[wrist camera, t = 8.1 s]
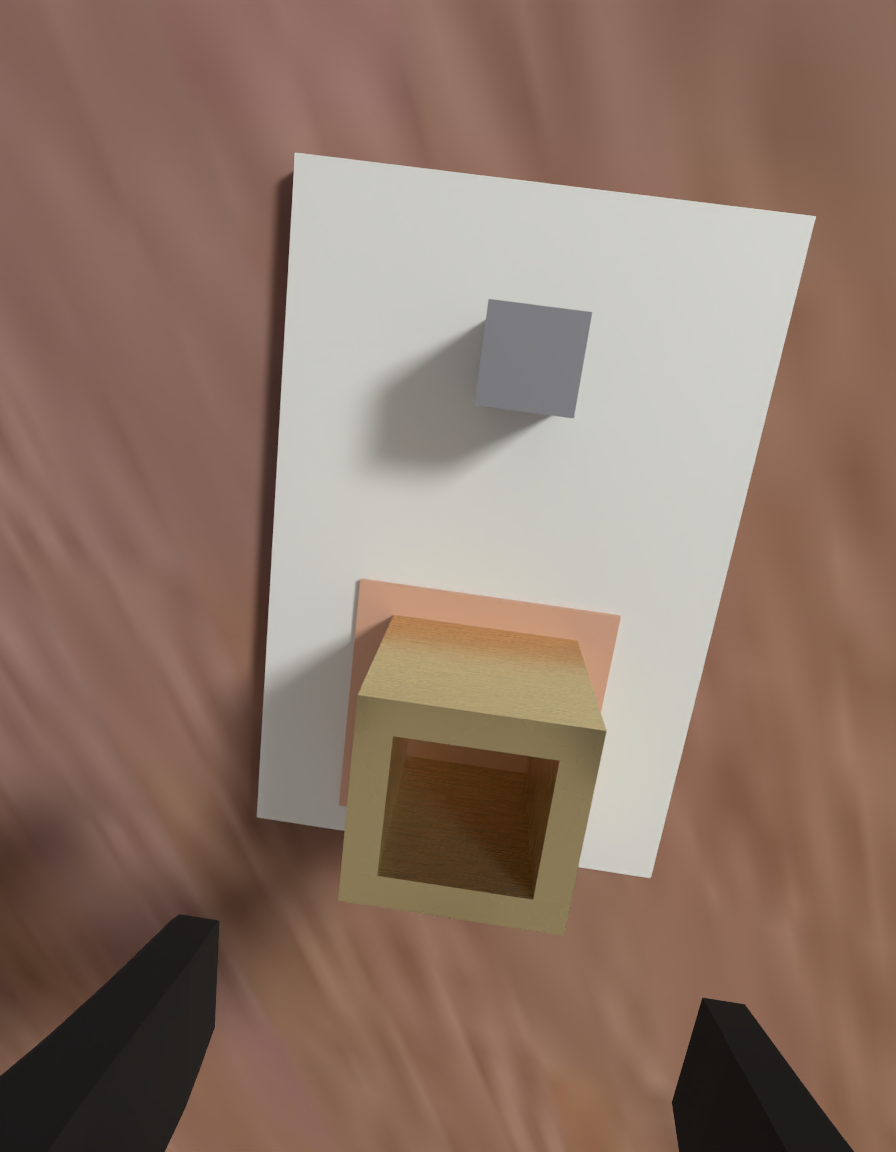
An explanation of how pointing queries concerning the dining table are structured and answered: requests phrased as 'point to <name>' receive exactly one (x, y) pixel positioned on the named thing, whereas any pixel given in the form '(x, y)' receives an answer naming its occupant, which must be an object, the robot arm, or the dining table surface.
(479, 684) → the sleeve
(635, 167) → the dining table surface
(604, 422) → the board
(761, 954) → the dining table surface
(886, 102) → the dining table surface
